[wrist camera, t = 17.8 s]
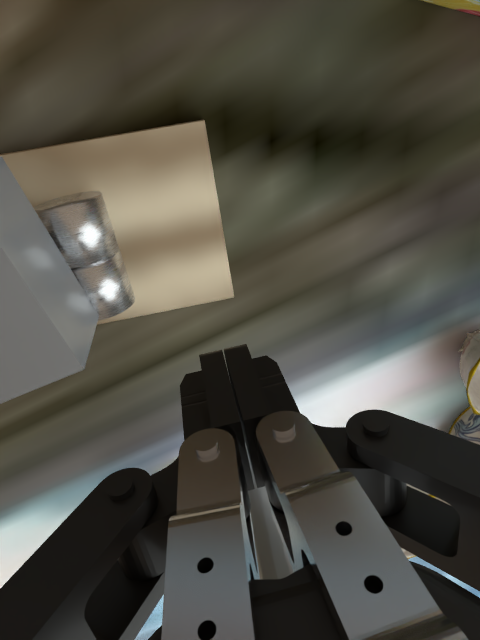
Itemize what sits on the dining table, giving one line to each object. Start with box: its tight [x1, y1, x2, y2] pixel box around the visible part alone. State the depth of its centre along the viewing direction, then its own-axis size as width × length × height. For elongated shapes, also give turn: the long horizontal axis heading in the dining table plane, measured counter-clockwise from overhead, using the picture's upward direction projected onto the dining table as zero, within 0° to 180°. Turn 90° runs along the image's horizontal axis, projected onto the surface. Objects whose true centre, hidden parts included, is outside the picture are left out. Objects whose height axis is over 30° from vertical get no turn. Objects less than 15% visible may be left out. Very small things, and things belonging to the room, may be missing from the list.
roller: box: [34, 191, 135, 321], centre depth 28 cm, size 7×4×4 cm, turn 10°
